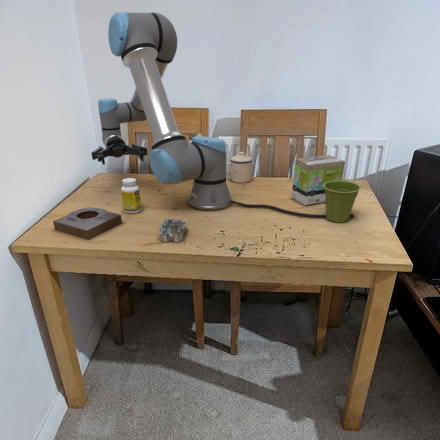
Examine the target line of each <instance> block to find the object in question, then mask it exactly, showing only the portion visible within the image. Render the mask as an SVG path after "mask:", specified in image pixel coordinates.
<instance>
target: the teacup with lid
mask: <svg viewBox="0 0 440 440" xmlns="http://www.w3.org/2000/svg"><path fill="white" fill-rule="evenodd" d="M252 163H253V158H252V157H251V156H249V155H248V154H245V152H244V151H239V152H238V154H236V155H233V156H232V157H231V158H230V162H226V166H230V172H228V171H227V170H226V175H228V176H230V180H231V182H233V183H237V184H246V183H249V182H251V181H252V168H253V167H252Z"/></svg>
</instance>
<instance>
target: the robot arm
mask: <svg viewBox="0 0 440 440" xmlns="http://www.w3.org/2000/svg"><path fill="white" fill-rule="evenodd" d="M107 30H108V31H107V33H108V34H107V36H108V37H107V39H108V44H109V49H110V51H111V53H112V54H113V56H115V57H120V59H121V61H122V64H123V66H124V67H126V68H127V69H129V72H130V73H131V77H132V80H133V82H134V85H135V88H134V92H133V95H132V98H131V100H130V101H128V102H118V100H117V99H116V98H113V97H111V98H110V97H109V98H100V99H98V102H97V104H98V105H97V106H98V107H97V108H98V115H99V120H100V121H99V122H100V128H101V134H102V136H101V139H102V144H103V145H104V146H105V147H104V146H101V145H100V146H98V148H96V149H94V150H93V151H92V152H91V159H92V160H93V161H95V160H97V162H99V163H100V162H101V163H102V165H106V161H105V158H108V157H113V158H121V157H123V156H129V155H130V156H131V155H132V156H138V158H139V160H140V161H141V162H144V161H145V160H144V157H146V156H148V147H144V146H140V145H137V144H135V143H131V145H129V144H127V143H126V142H125V140H124V139H123V137H122V131H121V124H126V123H127V124H128V123H135V122H145V121H147V124H148V127H149V130H150V132H151V135H152V138H153V142H152V143H151V151H150V152H149V156H148V157H149V158H148V160H149V166H150V169H151V172H152V173H153V176H154V177H155V178H156V179H157V180H158V182H160V183H161V184H163V185H168V186H169V185H176V184H177V185H178V184H180V183H184V182H188V181H193V185H192V188H191V192H190V194H189V195H190V196H189V205H190V206H191V207H192V208H194V209H197V210H201V211H218V210H223V209H226V208H228V207H230V206H231V204H233V205H237V206H241V207H245V208H267V209H272V210H275V211H278V212H281V213H285V214H288V215H294V216H299V217H306V218H326V214H315V213H303V212H297V211H293V210H287V209H284V208H280V207H278V206H275V205H270V204H261V203H260V204H251V203H250V204H247V203H244V202H239V201H236V200H232V196H231V194H230V189H229V186H228V184H227V174H226V171H227V165H226V163H227V154H228V152H227V144H226V141H225V140H224V139H222V138H219V137H214V136H213V137H212V136H203V135H198V136H193V137H192V138H191V142H190V143H189V142H188V141H187V138H186V136H185V134H183V133H180V131H179V129H178V125H177V122H176V119H175V116H174V113H173V110H172V107H171V105H170V102H169V98H168V96H167V95H168V94H167V92H166V89H165V86H164V83H163V80H162V79H163V76H164V74H165V72H166V69H167V68H168V64H171V63H172V62H173V60H174V59H175V56H176V53H177V49H178V35H177V31H176V29H175V26H174V25H173V23H172V22H171V20H170V19H169V18H168V17H167V16H165V15H164V14H162V13H159V12H131V11H129V12H128V11H121V12H120V11H119V12H117V11H116V12H114V13H113V14H112V15H111V17H110V18H109V23H108V29H107ZM354 217H355V213H350V216H349V218H354ZM326 219H327V218H326Z"/></svg>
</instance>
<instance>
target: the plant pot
mask: <svg viewBox="0 0 440 440" xmlns="http://www.w3.org/2000/svg"><path fill="white" fill-rule="evenodd" d="M323 187H324V189H325V197H326V202H325V215H326V220H328V221H331V222H334V223H345V222H347V221H349V218H350V217H349V216H350V214H352V210H353V206H354V203H355V201H356V198H357V197H358V194H359V192H360V191H361V189H362V186H361V185H360V184H359V183H357V182H353V181H349V180H342V181H338V180H337V181H329V182H326V183H324V184H323Z"/></svg>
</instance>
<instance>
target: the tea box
mask: <svg viewBox="0 0 440 440" xmlns="http://www.w3.org/2000/svg"><path fill="white" fill-rule="evenodd" d="M345 165H346V161H345V160H342V159H340V158H338V157H335V156H332V155H330V154H328V155H318V156H311V157H301V158H296V159H295V163H294V170H293V171H294V172H293V179H292V186H291V187H292V189H291V198H292V199H293V200H295V201H297V202H298V203H300V204H302V205H304V206H309V205H315V204H321V203H326V197H325V189H324V187H323V184H324V183H326V182H329V181H337V180H338V181H343V178H344V171H345Z"/></svg>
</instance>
